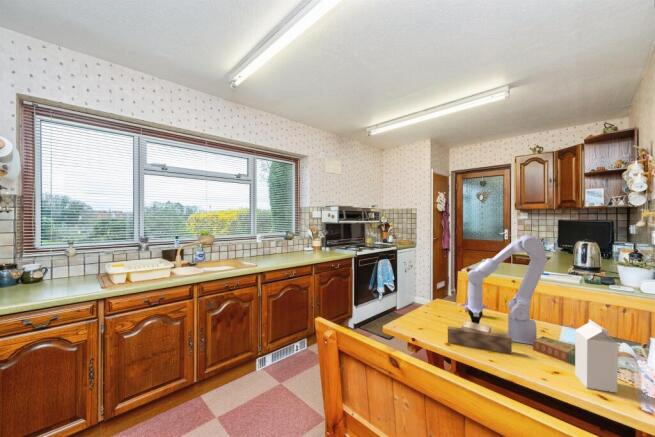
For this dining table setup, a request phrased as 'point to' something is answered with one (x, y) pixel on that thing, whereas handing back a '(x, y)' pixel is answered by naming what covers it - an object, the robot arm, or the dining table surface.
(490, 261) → the robot arm
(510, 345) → the walnut board
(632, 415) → the dining table surface
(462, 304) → the lily
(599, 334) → the milk carton
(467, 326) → the maple block
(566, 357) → the carton
